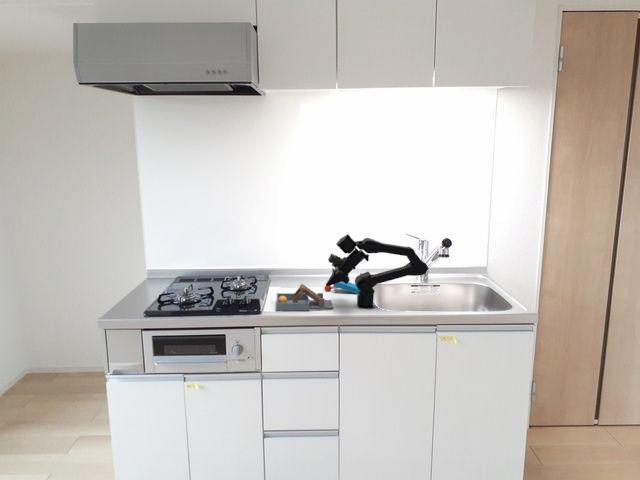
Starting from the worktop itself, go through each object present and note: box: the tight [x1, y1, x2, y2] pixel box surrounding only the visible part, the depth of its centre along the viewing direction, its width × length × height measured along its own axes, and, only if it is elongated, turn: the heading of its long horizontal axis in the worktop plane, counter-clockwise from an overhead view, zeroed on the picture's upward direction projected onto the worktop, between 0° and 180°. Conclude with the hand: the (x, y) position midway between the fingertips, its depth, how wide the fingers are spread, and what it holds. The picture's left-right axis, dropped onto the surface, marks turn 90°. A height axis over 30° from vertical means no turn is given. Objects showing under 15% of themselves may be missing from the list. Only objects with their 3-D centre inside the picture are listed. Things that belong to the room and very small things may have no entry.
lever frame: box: [309, 292, 334, 311], centre depth 204 cm, size 10×10×4 cm
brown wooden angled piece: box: [292, 283, 321, 303], centre depth 203 cm, size 8×7×11 cm
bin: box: [275, 292, 310, 312], centre depth 203 cm, size 14×14×4 cm
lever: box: [324, 281, 360, 295], centre depth 227 cm, size 7×7×18 cm
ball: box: [278, 296, 287, 303], centre depth 202 cm, size 4×4×4 cm
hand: (326, 285), depth 203 cm, fingers closed
